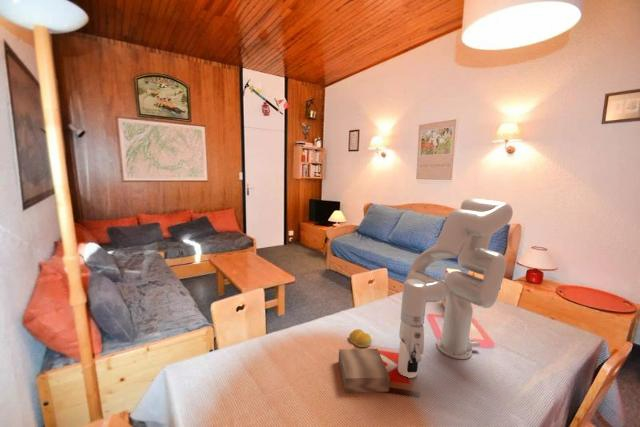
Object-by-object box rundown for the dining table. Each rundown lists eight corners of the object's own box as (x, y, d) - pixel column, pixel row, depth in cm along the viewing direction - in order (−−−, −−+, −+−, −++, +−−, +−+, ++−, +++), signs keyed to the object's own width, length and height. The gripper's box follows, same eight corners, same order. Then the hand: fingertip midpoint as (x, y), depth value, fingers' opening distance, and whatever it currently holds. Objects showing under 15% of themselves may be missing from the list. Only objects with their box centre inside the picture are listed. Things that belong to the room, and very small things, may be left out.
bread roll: (362, 351, 108) (363, 341, 107) (345, 340, 115) (346, 331, 114) (376, 343, 113) (376, 334, 113) (359, 332, 120) (359, 324, 119)
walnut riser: (376, 361, 102) (377, 348, 101) (388, 391, 88) (389, 377, 88) (338, 361, 101) (339, 349, 100) (344, 392, 87) (345, 378, 86)
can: (417, 368, 99) (420, 337, 97) (417, 381, 93) (420, 348, 91) (398, 363, 101) (400, 333, 99) (397, 375, 95) (399, 343, 93)
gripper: (435, 331, 86) (430, 382, 89) (412, 303, 103) (408, 347, 106) (411, 331, 85) (407, 383, 88) (392, 303, 102) (389, 348, 105)
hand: (407, 363), depth 97 cm, fingers closed on can, 6 cm apart
